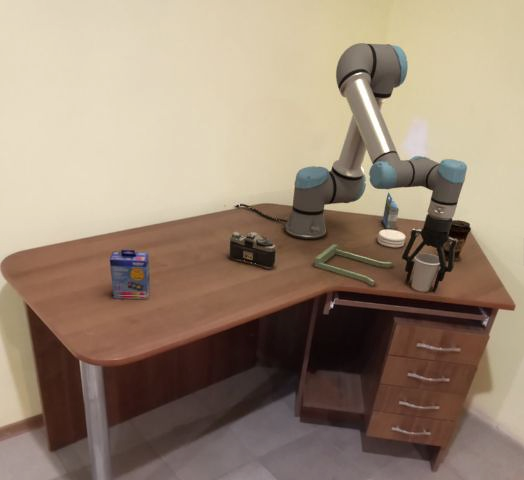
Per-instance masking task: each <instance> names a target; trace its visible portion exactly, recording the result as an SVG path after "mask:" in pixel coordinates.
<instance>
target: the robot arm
mask: <svg viewBox="0 0 524 480" xmlns="http://www.w3.org/2000/svg"><path fill="white" fill-rule="evenodd" d="M408 67H409V66H408V59H407V54H406V53H405V51H404V50H403V48H402V47H400V46H398V45H394V44H393V45H392V44H390V43H386V44H383V43H365V42H359V43H358V42H357V43H354V44H352V45H350V46H349V47H348V48H346V49H345V50H344V51H343V53H342V54H341V55H340V57H339V59H338V61H337V65H336V69H335V70H336V71H335V79H336V85H337V88H338V90H339V93H340V95H341V96H342V97H343V98H344V99H346V102H347V104H348V106H349V109H350V111H351V113H352V115H351V118H350V122H349V125H348V128H347V132H346V135H345V138H344V142H343V144H342V148H341V151H340V154H339V157H338V159H337V160H335V161H333V163H332V166H331V169H330V170H329V169H328V168H327V167H324V166H316V165H315V166H306V167H303V168H301V169H299V170H298V171H297V172H296V175H295V180H294V187H293V198H292V208H291V212H290V215H289V216H288V219H283V218H276V217H273V218H272V216H269V215H267V214H265V213H263V212H262V211H260V210H259V209H257V210H256V208H254V209H252V208H253V207H252V208H248V207H251V206H250V205H248V204H245V203H239V204H240V206H239V205H238V204H236V205H235V206H234V207H235V208H239V207H245V208H248V209H249V210H252V211H254V212H256V213H257V214H259V215H260V216H263V217H265V218H267V219H269V220H272V221H277V222H284V223H285V228H286V229H285V228H284V231H285V233H286V234H287V235H289V236H290V237H293V238H296V239H301V240H318V239H319V240H320V239H322V238H324V237H325V236H326V231H327V230H326V228H327V227H326V222H325V216H324V210H325V205H335V204H336V205H337V204H349V203H354V202H356V201H358V200H359V199H361V198H362V197H363V195H364V193H365V191H366V187H367V183H366V181H367V179H366V175H365V170H364V168H363V167H362V166H363V164H364V161H365V158H366V155H367V153H368V156H369V158H370V161H371V164H372V165H371V167H370V168H369V172H368V176H369V182H370V185H371V186H372V187H373V188H374V189H376V190H393V189H399V188H415V187H423V188H425V189H427V190H430V191H432V193H431V197H430V201H429V204H428V208H427V214H426V216H425V221H424V223H423V228H422V229H418V228H416V227H414V228H412V229H411V232H410V238H409V239H408V242H407V245H406V247H405V249H404V251H403V254H402V256H401V259H402V260H404V261H405V262H406V264H405V268H404V271H405V273H406V277H405V280H404V283H405V284H408V283H409V282H410V280H411V278H412V275H413V270H414V262H415V258H414V257H415V256H416V255H417V254H419V253H420V252H421V250H422V249H423V248H424V247H425V246H428V247H432V248H433V249H434V248H435V249H436V252H437V256H438V257H439V262H440V266H439V269H438V271H437V273H436V276H435V277H436V278H435V279H434V280H435V281H434V284H433V288H432V292H436V291H437V289H438V287H439V284H440V282H443V280H444V278H445V276H446V273H451V272H452V271H453V270H454V267H455V260H454V256H455V246H456V244H457V242H458V239H457V238H455V239H453V238H451V237H450V236H449V231H450V227H451V224H452V221H453V218H454V216H455V214H456V210H457V207H458V202H459V198H460V195H461V192H462V189H463V186H464V183H465V180H466V174H467V170H468V165H467V164H466V163H465V162H464V161H462V160H457V159H452V158H445V159H441V160H440V162H437V161H435V160H432V159H430V158H429V157H427V156H421V155H415V156H413V157H412V158H410V159H405V160H402V159H401V158H400V155H399V153H398V151H397V148H396V146H395V143H394V141H393V139H392V137H391V134H390V131H389V129H388V127H387V124H386V122H385V119H384V117H383V114H382V112H381V111H382V109H383V106H384V104H385V101H386V100H389V99H390V98H391V97H392V94H393V91H394V89H396V88H398V87H400V86H401V85H403V83H405V80H406V78H407V75H408ZM258 210H259V211H260V212H259V211H258ZM262 213H263V214H262ZM264 214H265V215H264ZM274 218H275V219H274ZM276 219H277V220H276ZM279 220H280V221H279ZM419 236H421V239H422V241H421V243H420V244H419V245H418V246H417V248H416V249H415V250H414V251H413V252H412V253H411V255H409V254H410V252H411V250H412V248H413V245H414V243H415V241H416V239H417V237H419ZM446 241H448V242H449V245H450V248H449V258H448V262H447V259H445V254H444V245H443V244H444V243H445V242H446Z"/></svg>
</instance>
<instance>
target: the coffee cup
mask: <svg viewBox="0 0 524 480" xmlns="http://www.w3.org/2000/svg"><path fill="white" fill-rule="evenodd" d="M471 231H472V228H471V224H470V223H469V222H467V221H465V220H461V219H460V220H459V219H452V224H451V227H450V231H449V236H450V237H451V238H453V239H455V238H457V239H458V242H457V244H456V246H455V256H454V261H459V259H460V255H461V252H462V250H463V248H464V246H465V244H466V241H467V238H468V235H469V233H470V232H471ZM443 245H444V254H445V260H446V261H447V260H448V258H449V248H450V245H449V242H448V241H446V242H445V243H444V244H443Z"/></svg>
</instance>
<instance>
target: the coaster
mask: <svg viewBox="0 0 524 480" xmlns="http://www.w3.org/2000/svg"><path fill="white" fill-rule="evenodd" d="M377 242H378V243H379V245H381V246H384V247H387V248H392V249H394V248H395V249H396V248H398V249H399V248H401V247H404V246H405V242H406V235H405V234H404V233H403V232H402V231H399V230H396V229H382V230H380V231H379V232H378V236H377Z"/></svg>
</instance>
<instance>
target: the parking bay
mask: <svg viewBox="0 0 524 480" xmlns="http://www.w3.org/2000/svg"><path fill="white" fill-rule="evenodd" d="M335 255H338V256H341V257H345V258H348V259H351V260H355V261H358V262H362V263H365V264H369V265H372V266H376V267H379V268H389V269H390V268H391V267H392V262H391V261H381V260H376V259H373V258H369V257H367V256H363V255H359V254H355V253H351V252H348V251H344V250H341V249H338V244H335V243H333V244H332V245H330V246H329V247H328V248H327V249H325V250H324V251H322V252H321V253H319V254H318V255H317V256H316V257H315V259H314V265H313V266H314V267H316V268H319V269H322V270H326V271H329V272H333V273H335V274H340V275H342V276H346V277H349V278H352V279H356V280H359V281H362V282H365V283H366V284H368V285H369V286H371V287H373V286H374V285H375V280H373V279H372V278H370V277H369V276H367V275H363V274H361V273H358V272H354V271H351V270H347V269H344V268H340V267H337V266H333V265H330V264H328V263H325V262H327V261H328V260H330V259H331V258H332V257H333V256H335Z"/></svg>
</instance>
